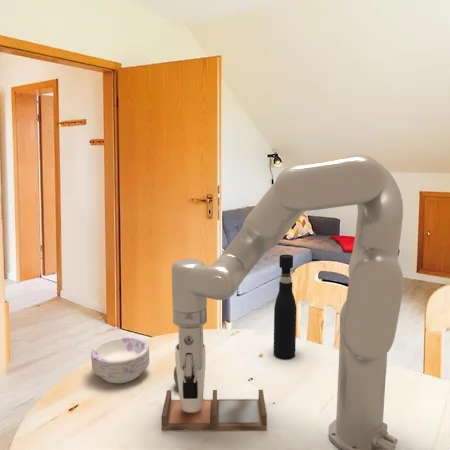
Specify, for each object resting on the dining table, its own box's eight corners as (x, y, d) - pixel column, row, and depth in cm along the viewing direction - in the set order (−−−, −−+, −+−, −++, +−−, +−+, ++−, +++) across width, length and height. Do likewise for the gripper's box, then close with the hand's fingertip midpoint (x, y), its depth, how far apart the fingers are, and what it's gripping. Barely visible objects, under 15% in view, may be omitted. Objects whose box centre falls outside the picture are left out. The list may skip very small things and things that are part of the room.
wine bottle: (270, 351, 146) (271, 254, 140) (289, 348, 148) (291, 252, 142) (278, 360, 140) (280, 259, 134) (299, 357, 142) (301, 257, 136)
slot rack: (262, 402, 118) (262, 389, 117) (266, 429, 107) (266, 415, 106) (167, 403, 118) (167, 390, 117) (161, 430, 107) (161, 416, 106)
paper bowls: (80, 381, 129) (78, 353, 127) (118, 358, 142) (116, 332, 140) (125, 395, 122) (124, 365, 120) (161, 369, 135) (160, 342, 133)
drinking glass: (208, 400, 115) (207, 340, 112) (204, 416, 108) (202, 353, 105) (179, 399, 115) (178, 339, 113) (174, 415, 109) (172, 352, 106)
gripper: (205, 330, 99) (206, 410, 103) (207, 301, 116) (208, 371, 120) (168, 330, 99) (171, 411, 102) (176, 302, 116) (178, 372, 120)
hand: (191, 389), depth 111 cm, fingers open, 6 cm apart
